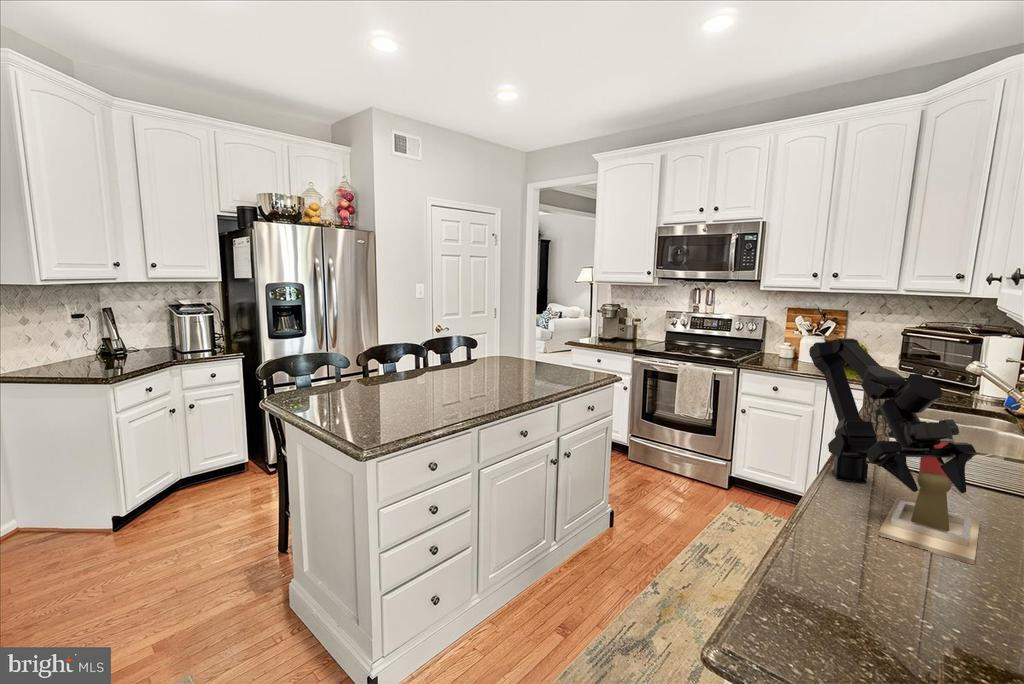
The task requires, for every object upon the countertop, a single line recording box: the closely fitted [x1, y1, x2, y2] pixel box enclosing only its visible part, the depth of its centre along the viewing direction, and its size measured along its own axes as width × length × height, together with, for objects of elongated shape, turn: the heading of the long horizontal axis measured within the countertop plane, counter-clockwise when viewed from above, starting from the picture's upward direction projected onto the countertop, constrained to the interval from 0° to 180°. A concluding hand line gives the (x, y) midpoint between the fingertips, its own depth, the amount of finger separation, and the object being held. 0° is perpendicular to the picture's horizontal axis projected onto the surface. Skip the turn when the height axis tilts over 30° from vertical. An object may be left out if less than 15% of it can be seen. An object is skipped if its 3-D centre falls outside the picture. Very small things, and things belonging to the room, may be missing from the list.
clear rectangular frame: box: [891, 501, 972, 546], centre depth 99 cm, size 12×12×2 cm
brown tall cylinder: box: [860, 390, 891, 463], centre depth 137 cm, size 7×7×25 cm
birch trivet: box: [877, 498, 981, 566], centre depth 99 cm, size 14×22×1 cm, turn 134°
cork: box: [911, 472, 952, 532], centre depth 98 cm, size 6×6×11 cm
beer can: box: [918, 438, 955, 486], centre depth 122 cm, size 7×7×12 cm
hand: (939, 491), depth 97 cm, fingers open, 9 cm apart
